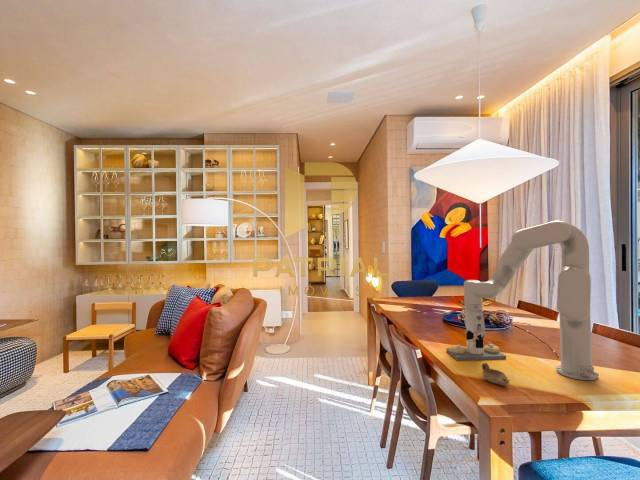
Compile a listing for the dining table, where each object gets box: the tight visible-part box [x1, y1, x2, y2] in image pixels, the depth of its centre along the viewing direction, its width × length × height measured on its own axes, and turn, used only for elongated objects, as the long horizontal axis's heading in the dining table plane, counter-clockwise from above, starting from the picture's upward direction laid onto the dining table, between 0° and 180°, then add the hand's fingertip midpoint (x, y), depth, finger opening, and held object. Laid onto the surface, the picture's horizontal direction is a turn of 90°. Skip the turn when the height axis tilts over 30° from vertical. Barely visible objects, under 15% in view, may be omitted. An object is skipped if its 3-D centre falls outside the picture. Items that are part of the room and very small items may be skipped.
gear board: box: [446, 337, 507, 362], centre depth 148 cm, size 12×22×8 cm, turn 89°
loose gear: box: [466, 339, 485, 354], centre depth 148 cm, size 7×7×5 cm
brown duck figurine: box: [481, 362, 510, 387], centre depth 122 cm, size 13×8×5 cm, turn 4°
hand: (474, 344), depth 148 cm, fingers open, 8 cm apart
